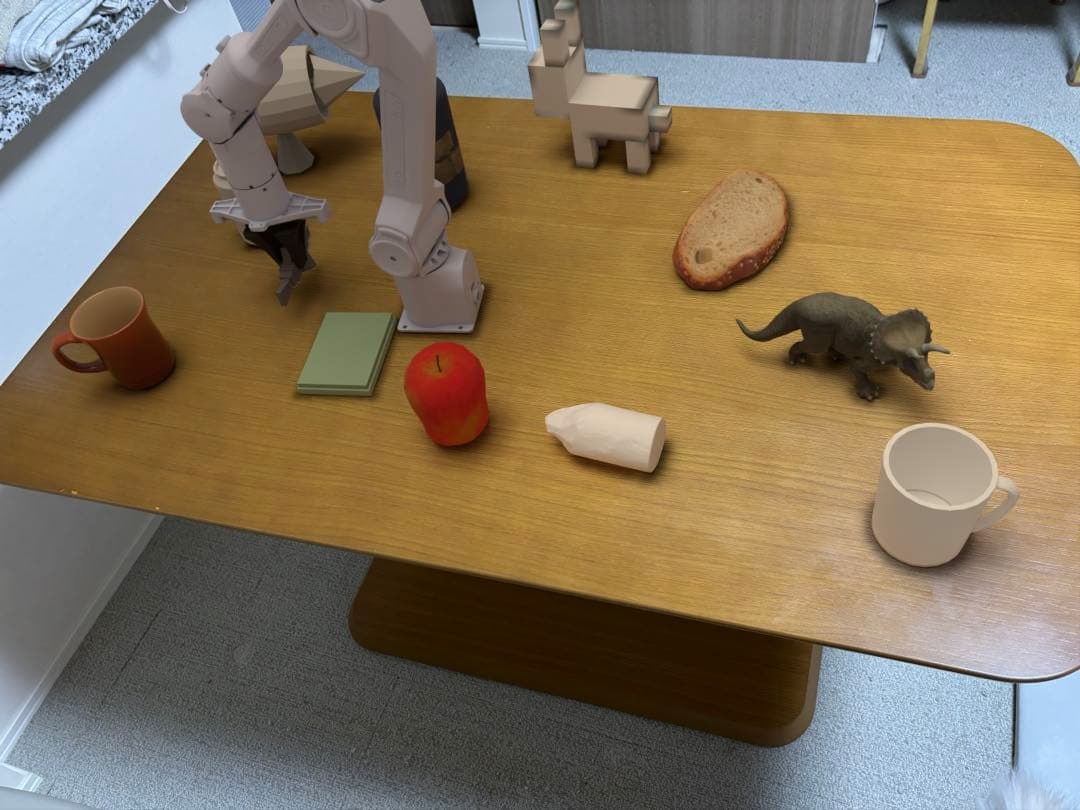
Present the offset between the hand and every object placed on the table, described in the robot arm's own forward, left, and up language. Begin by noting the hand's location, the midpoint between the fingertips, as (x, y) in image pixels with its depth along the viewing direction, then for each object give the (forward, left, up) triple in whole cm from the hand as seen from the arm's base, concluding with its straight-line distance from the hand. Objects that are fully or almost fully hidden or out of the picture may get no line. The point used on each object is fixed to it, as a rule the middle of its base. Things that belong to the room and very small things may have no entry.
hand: (294, 263), depth 113 cm
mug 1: (+17, +16, -5) cm, 24 cm away
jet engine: (+8, -27, -5) cm, 29 cm away
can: (+9, -11, -5) cm, 16 cm away
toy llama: (-37, -28, -5) cm, 46 cm away
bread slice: (-54, -10, -5) cm, 55 cm away
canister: (-14, -18, -5) cm, 23 cm away
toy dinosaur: (-66, +12, -5) cm, 67 cm away
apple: (-26, +22, -5) cm, 34 cm away
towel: (-10, +12, -4) cm, 16 cm away
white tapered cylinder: (-42, +24, -5) cm, 48 cm away
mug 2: (-73, +32, -5) cm, 79 cm away
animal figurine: (0, 0, -2) cm, 2 cm away
